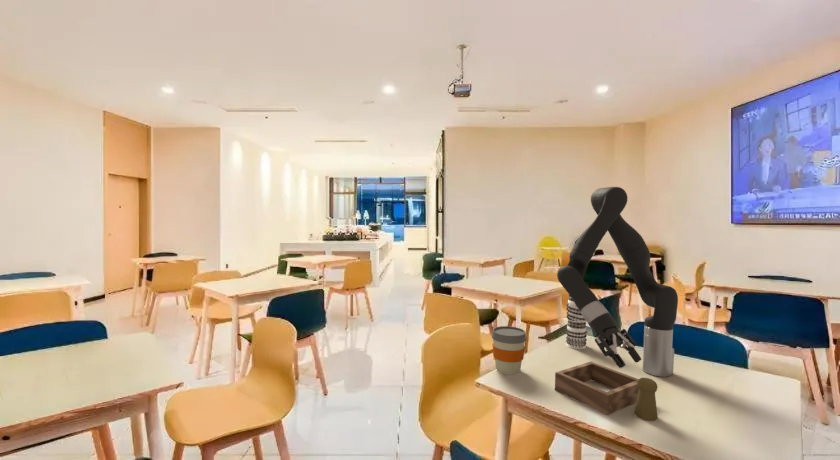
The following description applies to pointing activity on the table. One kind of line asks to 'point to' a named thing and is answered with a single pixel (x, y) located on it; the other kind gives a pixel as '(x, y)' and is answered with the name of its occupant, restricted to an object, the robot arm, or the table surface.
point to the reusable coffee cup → (508, 349)
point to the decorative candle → (575, 327)
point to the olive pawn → (646, 400)
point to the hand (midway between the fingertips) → (631, 363)
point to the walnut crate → (605, 402)
